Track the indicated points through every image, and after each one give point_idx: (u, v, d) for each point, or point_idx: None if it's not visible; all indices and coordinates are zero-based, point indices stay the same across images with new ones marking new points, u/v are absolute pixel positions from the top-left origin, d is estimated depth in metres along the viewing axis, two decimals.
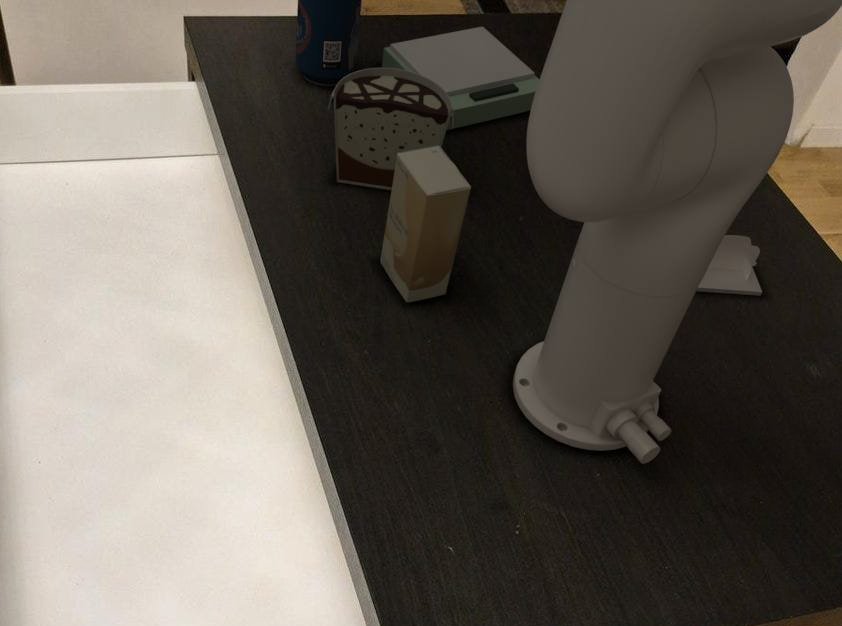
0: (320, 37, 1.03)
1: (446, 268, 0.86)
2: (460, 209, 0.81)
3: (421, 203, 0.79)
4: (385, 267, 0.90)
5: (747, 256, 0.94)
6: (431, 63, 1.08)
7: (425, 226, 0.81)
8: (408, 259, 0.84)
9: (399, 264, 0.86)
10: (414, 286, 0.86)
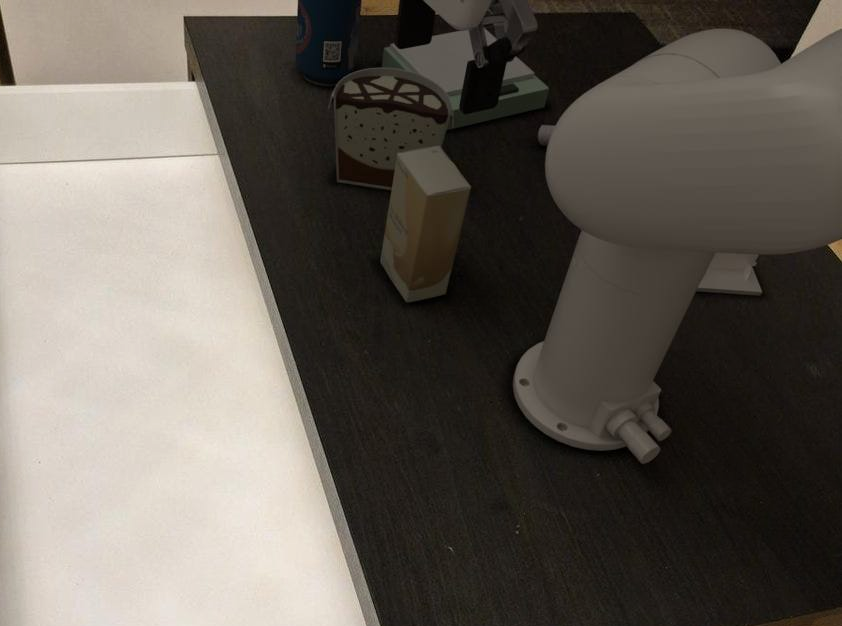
0: (320, 37, 1.03)
1: (446, 268, 0.86)
2: (460, 209, 0.81)
3: (421, 203, 0.79)
4: (385, 267, 0.90)
5: (747, 256, 0.94)
6: (431, 63, 1.08)
7: (425, 226, 0.81)
8: (408, 259, 0.84)
9: (399, 264, 0.86)
10: (414, 286, 0.86)
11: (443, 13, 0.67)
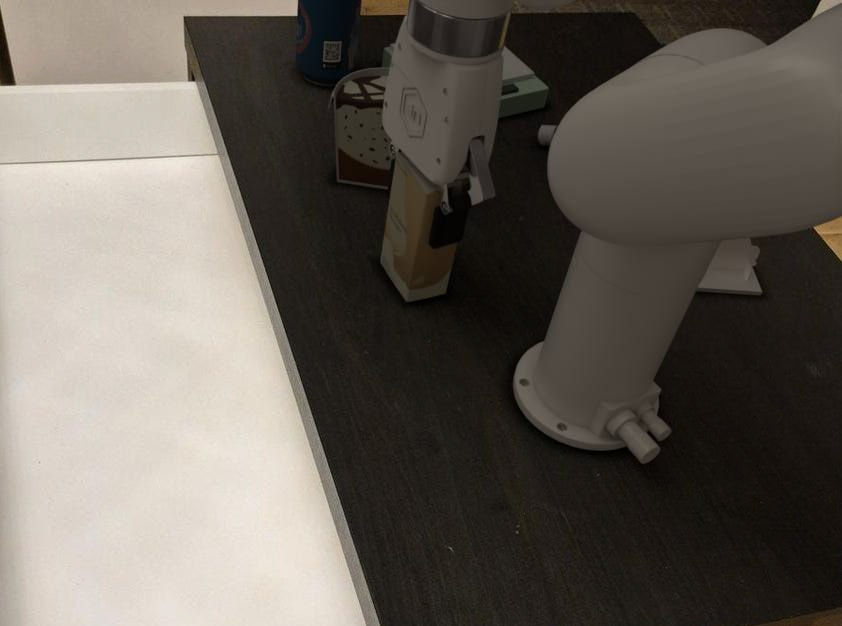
0: (320, 37, 1.03)
1: (446, 267, 0.86)
2: None
3: (420, 202, 0.79)
4: (385, 267, 0.90)
5: (747, 256, 0.94)
6: None
7: (424, 225, 0.81)
8: (408, 258, 0.84)
9: (399, 263, 0.86)
10: (414, 286, 0.86)
11: (422, 169, 0.76)
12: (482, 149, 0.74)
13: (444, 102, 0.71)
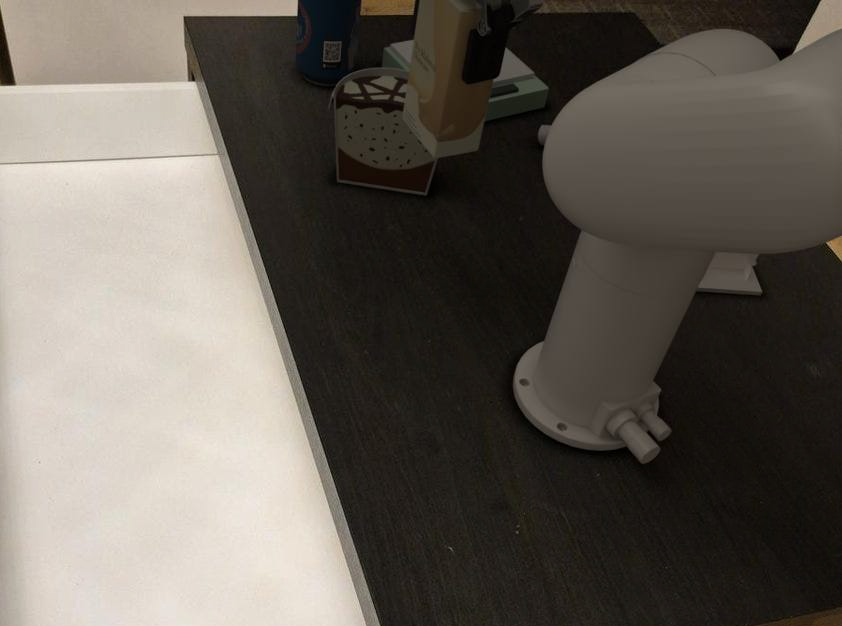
0: (320, 37, 1.03)
1: (479, 115, 0.75)
2: None
3: (453, 24, 0.68)
4: (408, 122, 0.79)
5: (747, 256, 0.94)
6: None
7: (457, 55, 0.70)
8: (437, 101, 0.74)
9: (426, 112, 0.75)
10: (443, 137, 0.75)
11: None
12: None
13: None
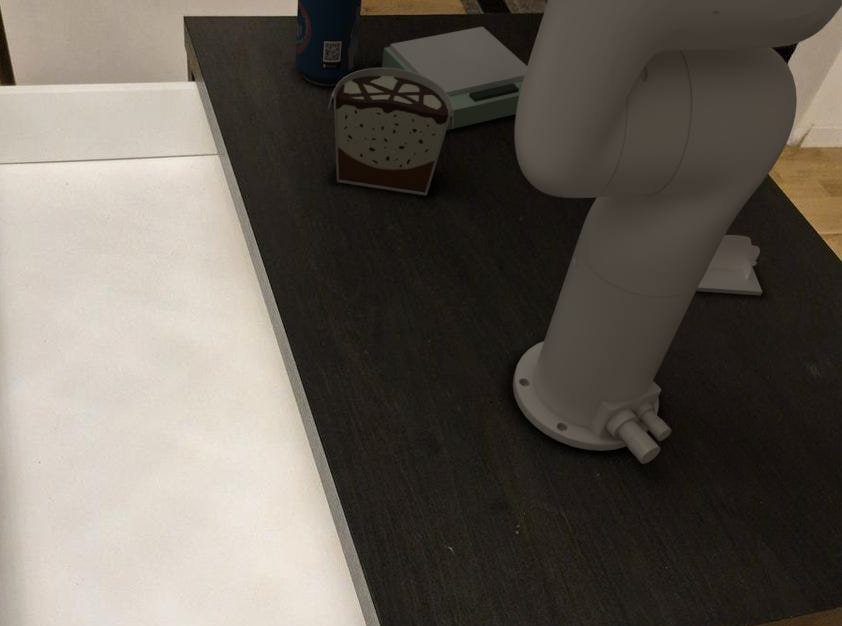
0: (320, 37, 1.03)
1: None
2: None
3: None
4: None
5: (747, 256, 0.94)
6: (431, 63, 1.08)
7: None
8: None
9: None
10: None
11: None
12: None
13: None
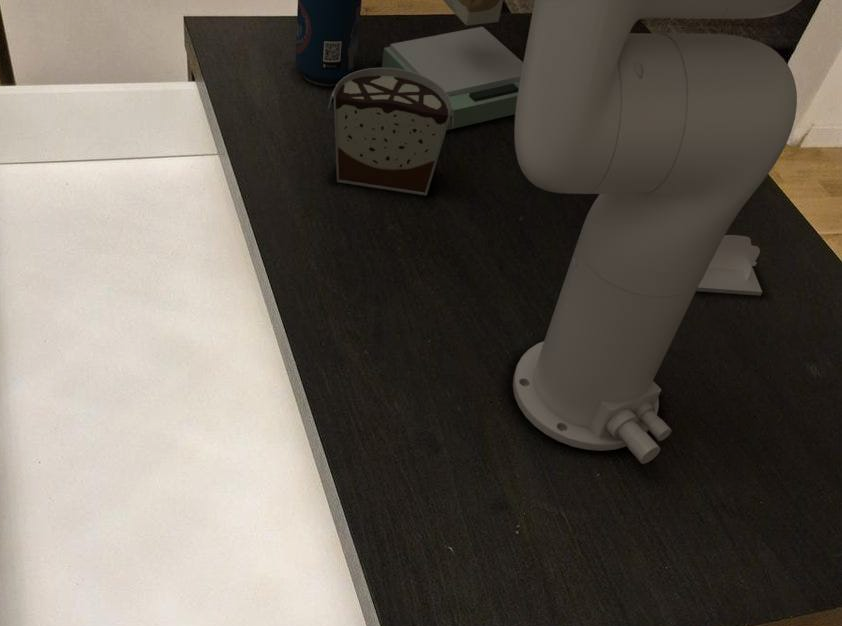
0: (320, 37, 1.03)
1: None
2: None
3: None
4: (446, 1, 1.05)
5: (747, 256, 0.94)
6: (431, 63, 1.08)
7: None
8: None
9: None
10: (473, 8, 1.02)
11: None
12: None
13: None
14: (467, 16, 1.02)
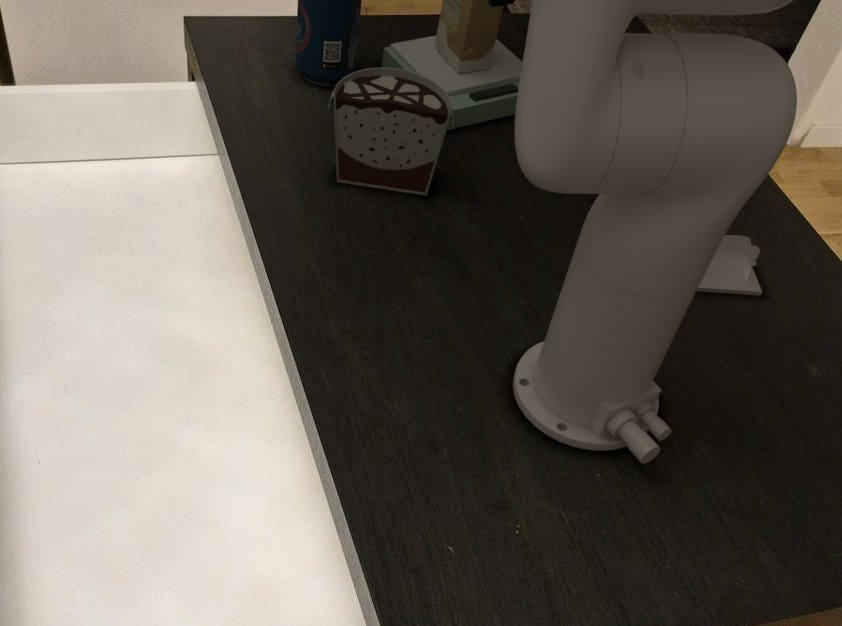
0: (320, 37, 1.03)
1: (491, 42, 1.06)
2: None
3: None
4: (439, 48, 1.09)
5: (747, 256, 0.94)
6: (431, 63, 1.08)
7: None
8: (461, 31, 1.04)
9: (452, 39, 1.06)
10: (465, 57, 1.06)
11: None
12: None
13: None
14: (459, 65, 1.07)
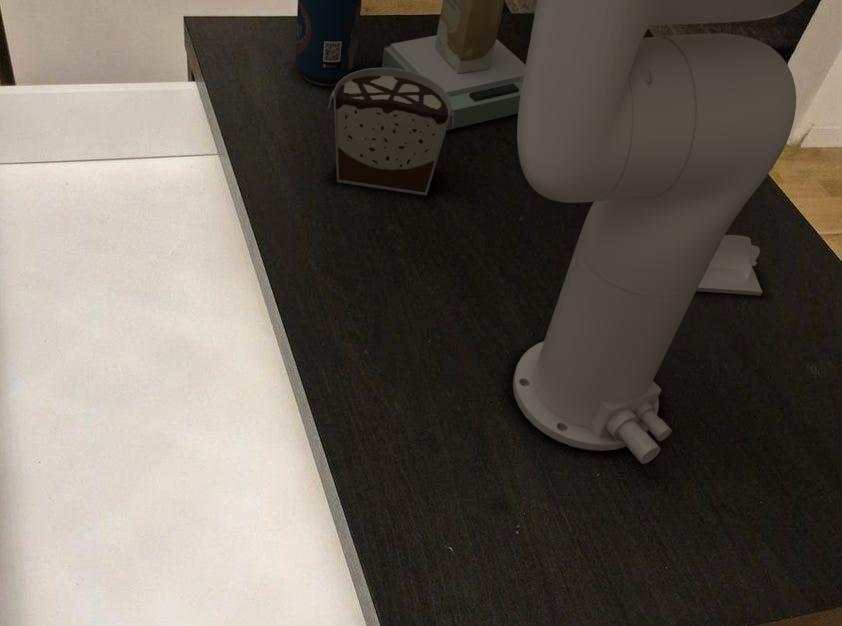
0: (320, 37, 1.03)
1: (491, 42, 1.06)
2: None
3: None
4: (439, 48, 1.09)
5: (747, 256, 0.94)
6: (431, 63, 1.08)
7: None
8: (461, 31, 1.04)
9: (452, 39, 1.06)
10: (465, 57, 1.06)
11: None
12: None
13: None
14: (459, 65, 1.07)
